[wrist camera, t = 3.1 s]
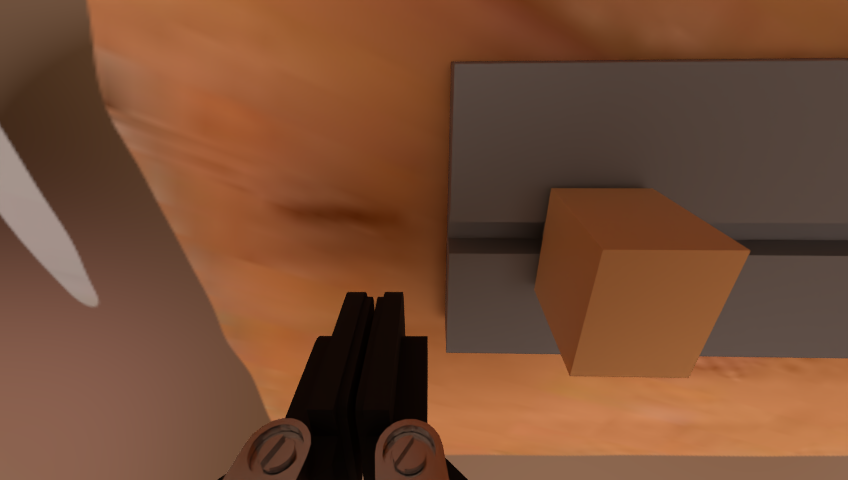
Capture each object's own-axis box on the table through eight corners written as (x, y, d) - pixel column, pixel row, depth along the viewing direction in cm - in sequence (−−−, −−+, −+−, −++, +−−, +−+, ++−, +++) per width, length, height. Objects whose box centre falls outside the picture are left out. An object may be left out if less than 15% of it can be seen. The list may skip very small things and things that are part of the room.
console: (1244, 54, 14) (1435, 55, 12) (988, 322, 21) (1071, 362, 18) (451, 61, 15) (454, 63, 13) (444, 315, 22) (446, 353, 19)
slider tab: (632, 175, 16) (750, 250, 10) (606, 271, 18) (688, 377, 12) (540, 175, 16) (603, 249, 10) (526, 271, 18) (569, 375, 12)
